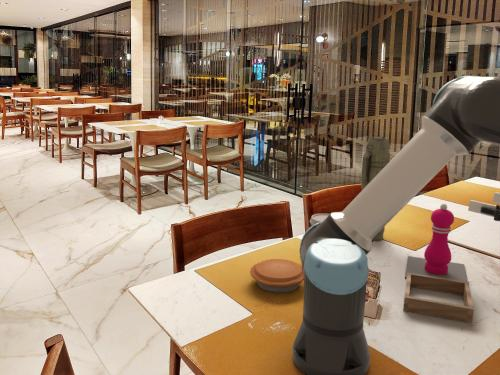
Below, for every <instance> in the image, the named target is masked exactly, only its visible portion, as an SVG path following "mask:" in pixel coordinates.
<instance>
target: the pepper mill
mask: <svg viewBox="0 0 500 375" xmlns="http://www.w3.org/2000/svg"><path fill="white" fill-rule="evenodd" d="M430 221H431V223H432V225H431V227H430V228H431V231H432V238H431V239H430V240H431V241H429V243H428V245H427V246H426V248H425V250H424V254H423V256H424V257H423V258H425V259H426V261H427V262H425V270H426V271H427V272H429V273H432V274H436V275H444V274H447V273H448V265H447V264H448V263H450V262H452V252H451V248H450V247H449V240H448V237H449V234H450V233H451V229H452V227H451V226H452V224H453V223H454V222H455V215H454V214H453V212H452V211H451V210H449V209H448V205H447V204H446V203H441V204H440V208H436V209H435V210H433V211H432V213H431V215H430Z"/></svg>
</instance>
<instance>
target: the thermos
mask: <svg viewBox="0 0 500 375" xmlns="http://www.w3.org/2000/svg"><path fill="white" fill-rule="evenodd" d="M390 161H391V152H390V144H389V139H388V138H386V137H385V136H371V137H369V138H368V140H367V142H366V144H365V153H364V154H363V156H362V165H361V166H362V167H361V178H360V179H361V180H360V183H361V184H360V186H361V187H360V189H361V191H362V190H363V189H364V188H365V187H366V186H367V185H368V184H369V183H370V182H371V181H372V180H373V179H374V178H375V177H376V176H377V175H378V173H379V172H380V171H381V170H382V169H383V168H384V167H385V166H386V165H387V164H388V163H389V162H390ZM385 227H386V225H385V226H384V227H383V228H382V229H381V230H380V231H379V232H378V234H377V235H376V236H375V237H374V238H373V239H372V241H371V243H372V242H373V243H374V242H382V241H383V240H384V234H385V233H384V232H385V230H386V229H385Z"/></svg>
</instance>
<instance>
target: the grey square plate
mask: <svg viewBox="0 0 500 375" xmlns="http://www.w3.org/2000/svg"><path fill="white" fill-rule="evenodd" d="M425 262H427V261H426V259H425V257H417V256H412V255H411V256H410V255H407V258H406V266H405V268H406V269H405V276H404V279H405V280H407V272H408V273H414V274H421V275H427V276H434V277H440V278H447V279H453V280H459V281H466V282H468V278H467V271H466V267H465V264H464V263H458V262H452V261H450V263H448V264H447V265H448V273H447V274H444V275H436V274H432V273H429V272H427V271H426V270H425Z"/></svg>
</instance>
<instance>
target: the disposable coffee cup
mask: <svg viewBox="0 0 500 375" xmlns="http://www.w3.org/2000/svg"><path fill="white" fill-rule="evenodd" d="M330 214H331V213H315V214H312V215H311V218H310V220H309V223H310V227H311V226H313V225H314V224H316V223H319V222H323V221H324V220H325V219H326V218H327V217H328V216H329V215H330Z"/></svg>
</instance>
